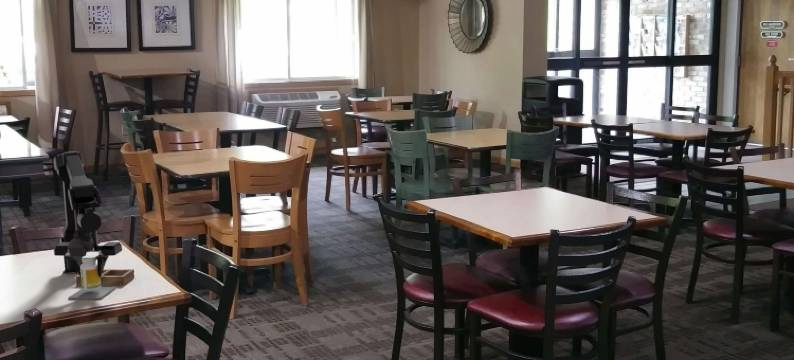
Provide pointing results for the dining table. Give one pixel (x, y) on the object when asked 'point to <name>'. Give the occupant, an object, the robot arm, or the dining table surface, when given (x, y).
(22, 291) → the dining table surface
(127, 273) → the brown two-compartment frame
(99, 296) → the coaster
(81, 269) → the supplement bottle
